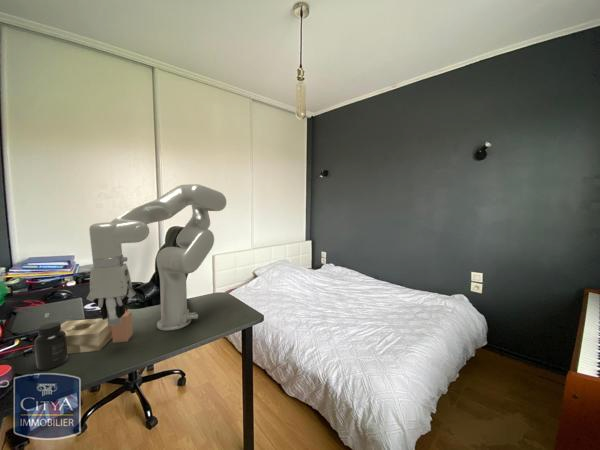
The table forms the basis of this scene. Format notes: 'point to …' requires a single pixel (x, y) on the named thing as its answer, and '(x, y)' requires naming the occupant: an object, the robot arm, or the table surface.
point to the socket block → (86, 335)
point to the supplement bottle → (50, 346)
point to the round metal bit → (112, 311)
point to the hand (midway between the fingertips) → (113, 316)
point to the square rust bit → (123, 328)
